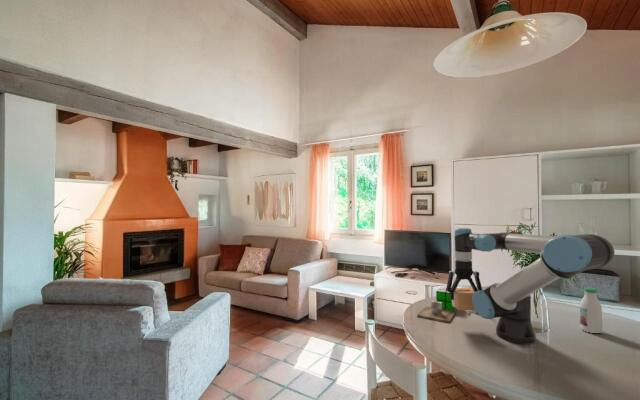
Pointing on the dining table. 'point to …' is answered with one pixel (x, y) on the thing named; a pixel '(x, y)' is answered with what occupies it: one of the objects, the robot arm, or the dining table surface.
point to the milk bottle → (590, 312)
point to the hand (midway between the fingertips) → (464, 306)
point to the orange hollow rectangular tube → (464, 298)
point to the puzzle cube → (445, 299)
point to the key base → (440, 318)
